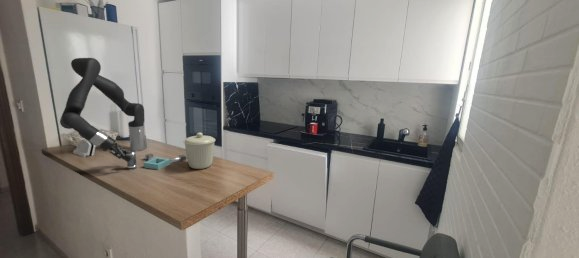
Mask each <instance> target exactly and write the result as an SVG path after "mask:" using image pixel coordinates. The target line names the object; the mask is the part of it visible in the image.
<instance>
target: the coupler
mask: <svg viewBox="0 0 579 258" xmlns="http://www.w3.org/2000/svg"><path fill="white" fill-rule="evenodd" d="M126 151H127V150H126ZM136 154H137V151H132V150H128V151H127V152H126V156H128V157H129V158H131V160H130V161H129V162H127V161H126V164H127V165H126V168H127V170H130V171H131V170H136V169H137V168H138V163H137V156H136Z"/></svg>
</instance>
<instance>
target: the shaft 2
mask: <svg viewBox="0 0 579 258" xmlns="http://www.w3.org/2000/svg"><path fill="white" fill-rule="evenodd" d="M169 159H170V163H171V164H173V163H176V162H177V163H178V162H186V161H187V160H188V159H187V155H185V154H180V155H178V156H177V157H173V158H169Z"/></svg>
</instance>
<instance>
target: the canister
mask: <svg viewBox="0 0 579 258" xmlns="http://www.w3.org/2000/svg"><path fill="white" fill-rule="evenodd" d="M215 142H216V138H215V137H213V136H210V135H205V134H203V132H197V133H196V135H193V136H189V137H186V138H185V139H183V142H182V143H183V144H184V146H185V154H186V158H187V159H186V160H187V163H188V166H189V167H190V168H192V169H194V170H195V169H197V170H202V169H207V168H209V167H211V166H212V164H213V160H214V151H215V150H214V149H215Z"/></svg>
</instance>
